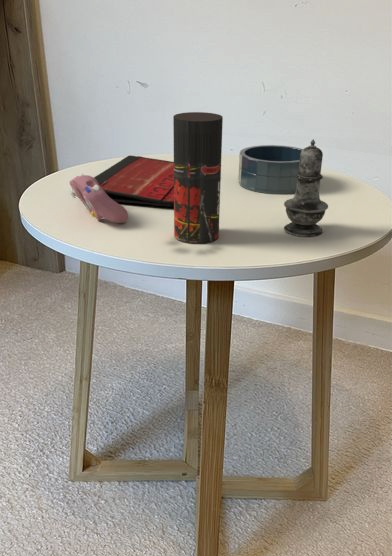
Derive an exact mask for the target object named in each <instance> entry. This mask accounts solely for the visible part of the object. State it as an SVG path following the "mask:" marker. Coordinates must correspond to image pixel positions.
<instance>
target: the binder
mask: <svg viewBox="0 0 392 556" xmlns="http://www.w3.org/2000/svg"><path fill="white" fill-rule="evenodd" d="M93 177H94V178H95V179H96V180H97V181H98V183H99V186H100V187H101V188H102V189H103V190H104V191H105V193H106V194H107V195H108V196H109V197H110V198H111V199H112V200H114V201H115V202H117V203H124V204H125V203H126V204H138V205H139V204H140V205H149V206H150V205H151V206H156V207H173V208H174V161H170V160H164V159H158V158H151V157H145V156H140V155H127V156H125V157H124V158H122V159H121V160H119V161H118V162H116V163H115V164H113V165H112V166H110V167H108V168H107V169H105V170H104V171H102V172H101V173H98V174H97V175H95V176H93Z"/></svg>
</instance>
